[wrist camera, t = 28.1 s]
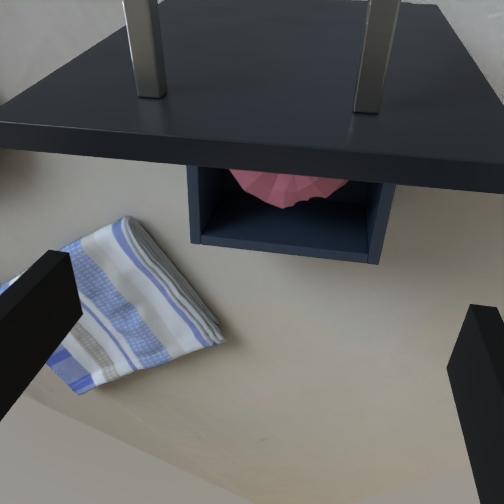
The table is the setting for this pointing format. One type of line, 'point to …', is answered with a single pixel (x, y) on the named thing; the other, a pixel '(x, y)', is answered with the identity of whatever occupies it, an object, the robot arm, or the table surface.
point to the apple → (285, 186)
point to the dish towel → (127, 309)
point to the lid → (275, 94)
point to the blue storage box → (289, 218)
